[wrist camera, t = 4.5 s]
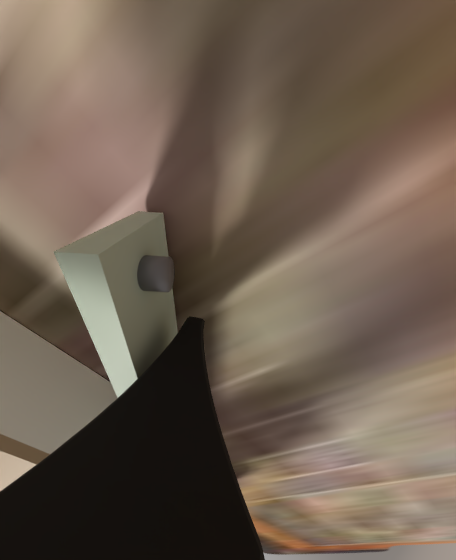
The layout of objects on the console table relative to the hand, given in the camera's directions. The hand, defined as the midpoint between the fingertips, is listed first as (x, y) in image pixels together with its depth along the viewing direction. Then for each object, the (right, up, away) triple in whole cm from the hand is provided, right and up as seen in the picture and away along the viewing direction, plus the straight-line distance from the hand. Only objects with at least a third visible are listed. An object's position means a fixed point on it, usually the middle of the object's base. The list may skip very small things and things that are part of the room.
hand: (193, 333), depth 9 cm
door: (-1, -3, +3) cm, 4 cm away
